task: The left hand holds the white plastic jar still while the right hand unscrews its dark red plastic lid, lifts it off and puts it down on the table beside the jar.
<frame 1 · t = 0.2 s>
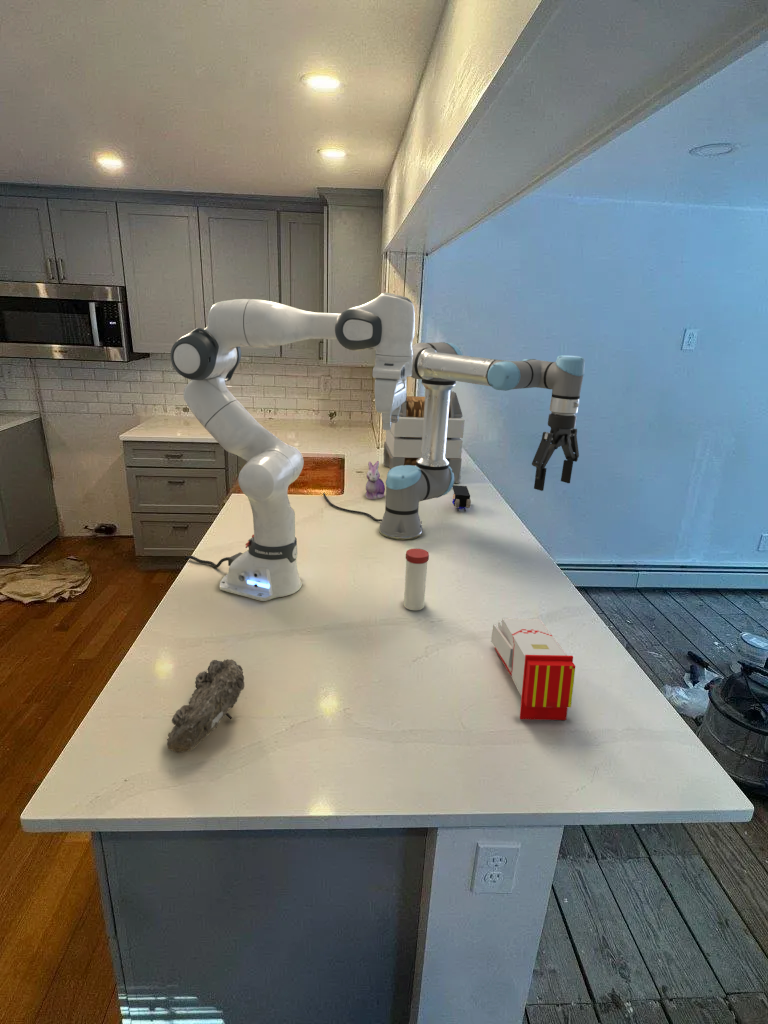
left hand: (390, 426, 137), 48 cm above the counter, tool pointing down, fingers open, 8 cm apart
right hand: (552, 485, 166), 28 cm above the counter, tool pointing down, fingers open, 13 cm apart
lid: (417, 554, 147), point 15 cm above the counter, screwed on, not yet turned
jar: (413, 605, 152), on the counter
figurine character: (460, 507, 229), on the counter
white wooden crate: (419, 473, 275), on the counter
figurine: (374, 496, 238), on the counter
toy: (524, 678, 124), on the counter
fossil: (212, 717, 108), on the counter
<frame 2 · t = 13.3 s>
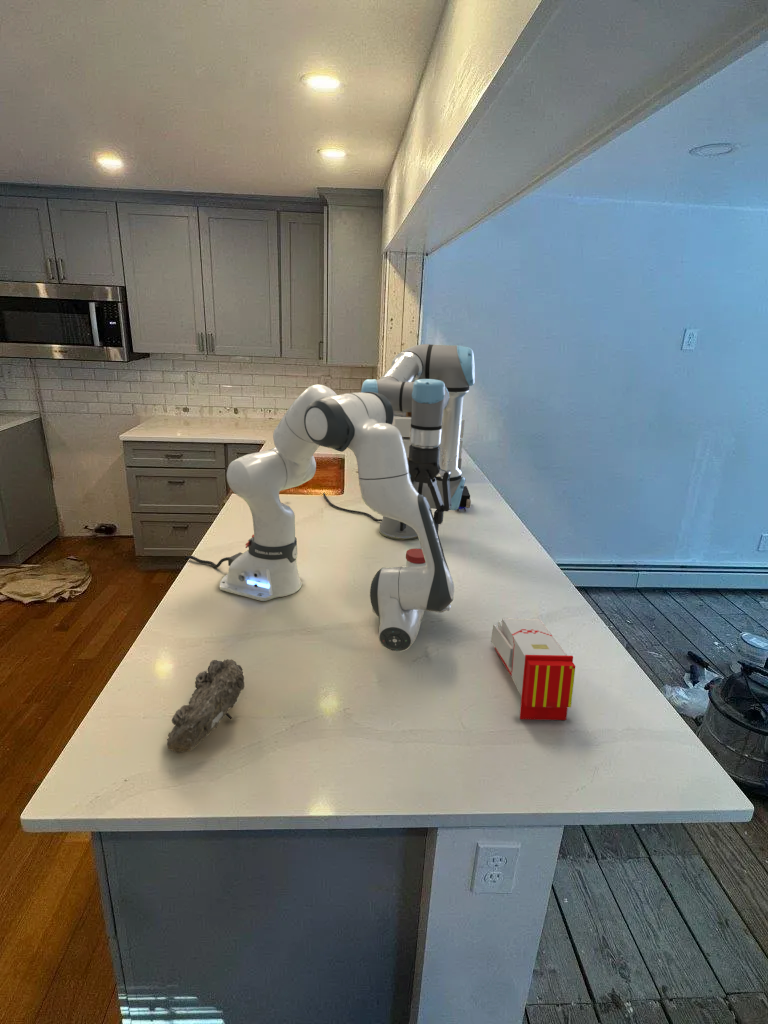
left hand: (415, 581, 151), 7 cm above the counter, tool horizontal, fingers closed on jar, 5 cm apart
right hand: (418, 532, 145), 21 cm above the counter, tool pointing down, fingers open, 8 cm apart
jar: (413, 605, 152), on the counter, touching left hand
everything else where it was.
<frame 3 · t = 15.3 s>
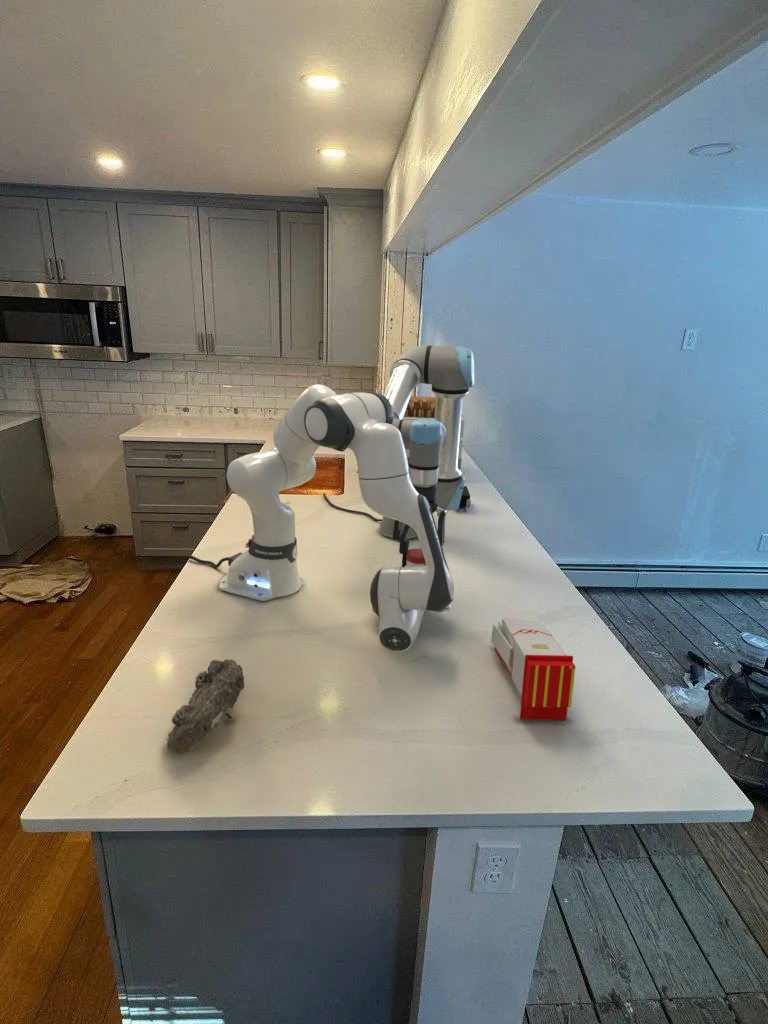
left hand: (415, 581, 151), 7 cm above the counter, tool horizontal, fingers closed on jar, 5 cm apart
right hand: (416, 567, 148), 11 cm above the counter, tool pointing down, fingers closed on lid, 6 cm apart
lid: (417, 554, 147), point 15 cm above the counter, screwed on, not yet turned, touching right hand
jar: (413, 605, 152), on the counter, touching left hand
everything else where it was.
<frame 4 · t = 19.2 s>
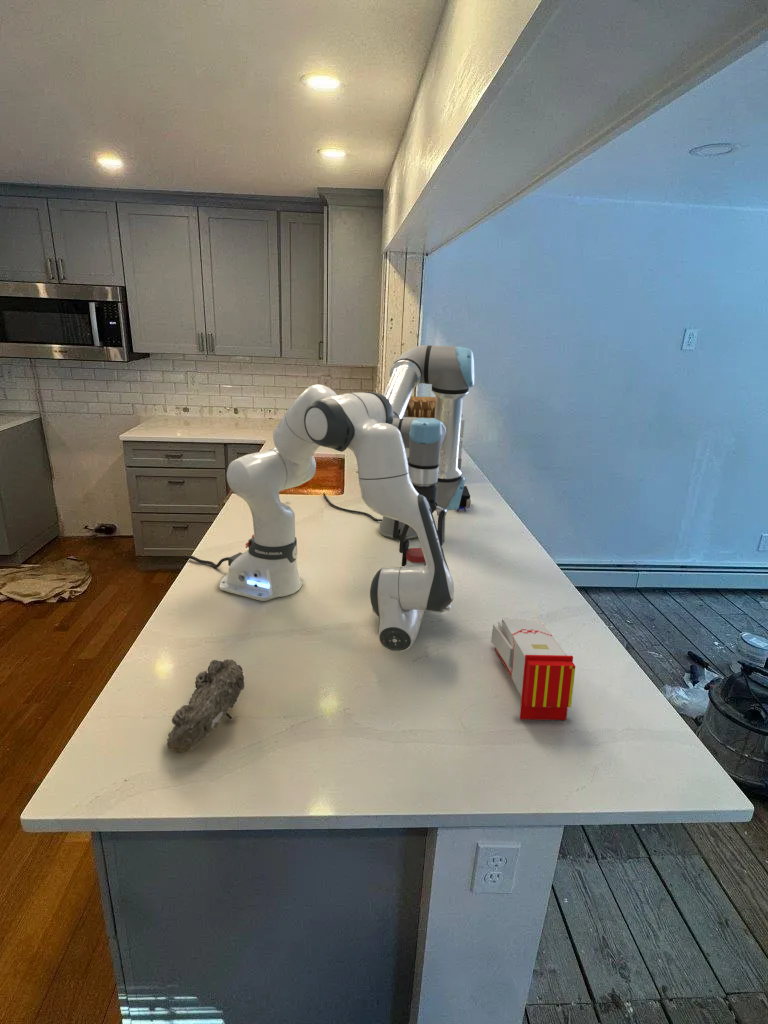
left hand: (415, 581, 151), 7 cm above the counter, tool horizontal, fingers closed on jar, 5 cm apart
right hand: (416, 566, 148), 11 cm above the counter, tool pointing down, fingers closed on lid, 6 cm apart
lid: (417, 553, 147), point 15 cm above the counter, turned 138° so far, risen 0.2 cm, still on its thread, touching right hand
jar: (413, 605, 152), on the counter, touching left hand
everything else where it was.
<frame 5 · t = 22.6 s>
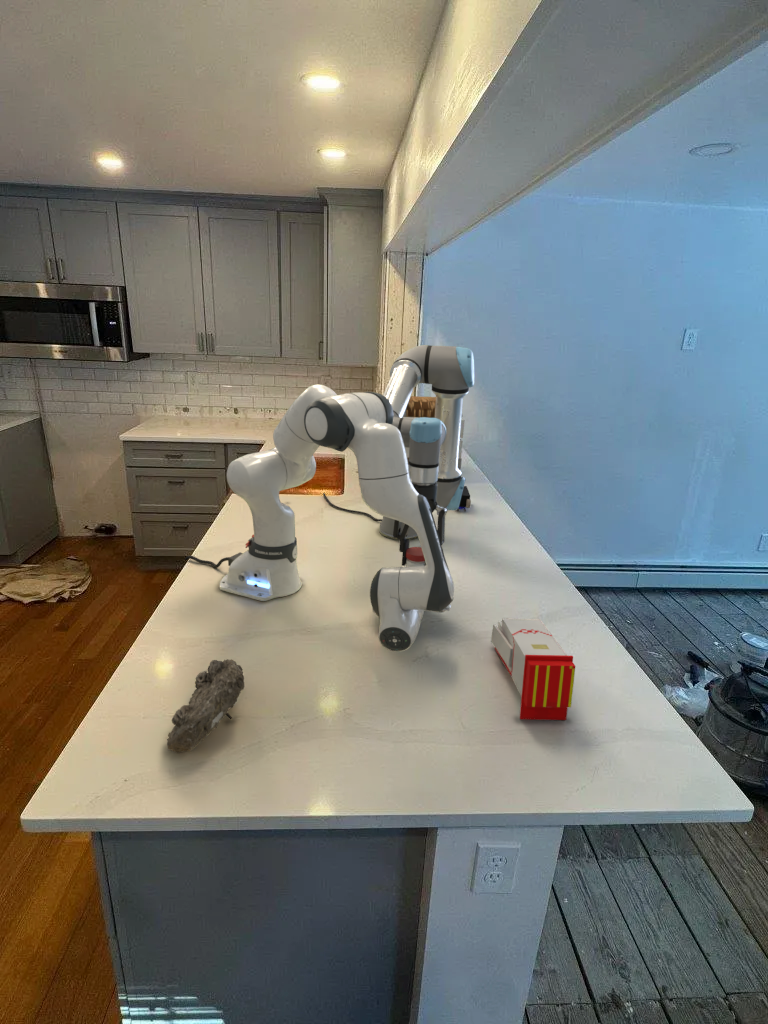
left hand: (415, 581, 151), 7 cm above the counter, tool horizontal, fingers closed on jar, 5 cm apart
right hand: (416, 565, 148), 12 cm above the counter, tool pointing down, fingers closed on lid, 6 cm apart
lid: (417, 552, 147), point 16 cm above the counter, turned 275° so far, risen 0.5 cm, still on its thread, touching right hand
jar: (413, 605, 152), on the counter, touching left hand
everything else where it was.
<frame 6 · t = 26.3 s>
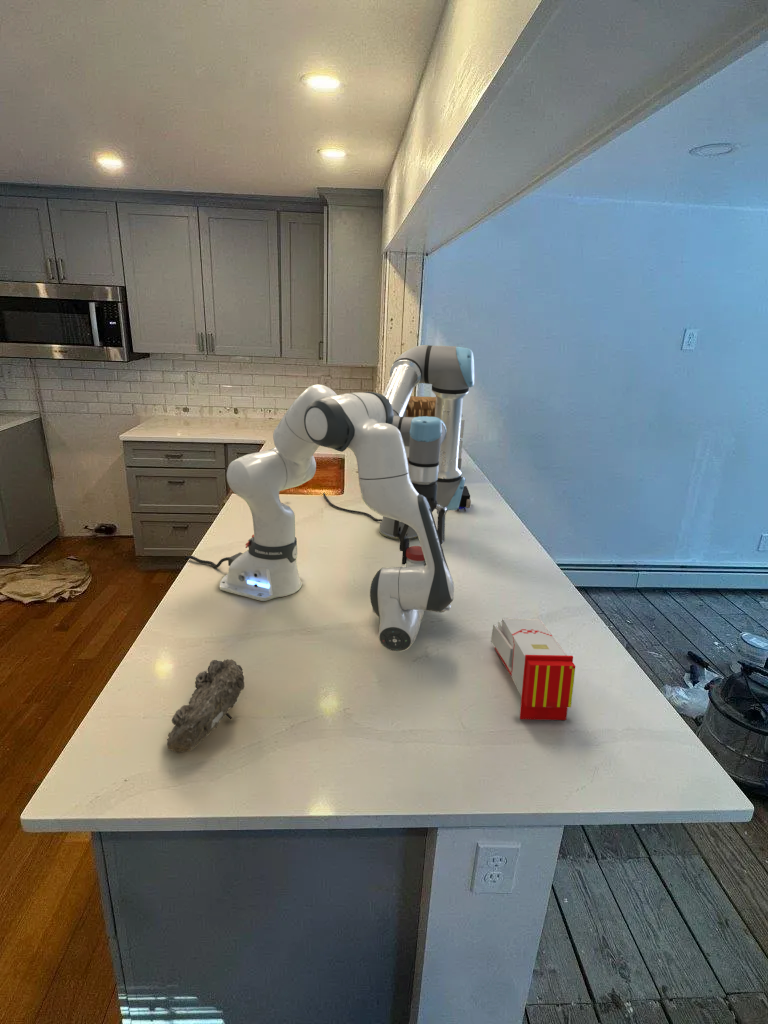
left hand: (415, 581, 151), 7 cm above the counter, tool horizontal, fingers closed on jar, 5 cm apart
right hand: (416, 565, 148), 12 cm above the counter, tool pointing down, fingers closed on lid, 6 cm apart
lid: (417, 551, 147), point 16 cm above the counter, turned 413° so far, risen 0.7 cm, still on its thread, touching right hand
jar: (413, 605, 152), on the counter, touching left hand
everything else where it was.
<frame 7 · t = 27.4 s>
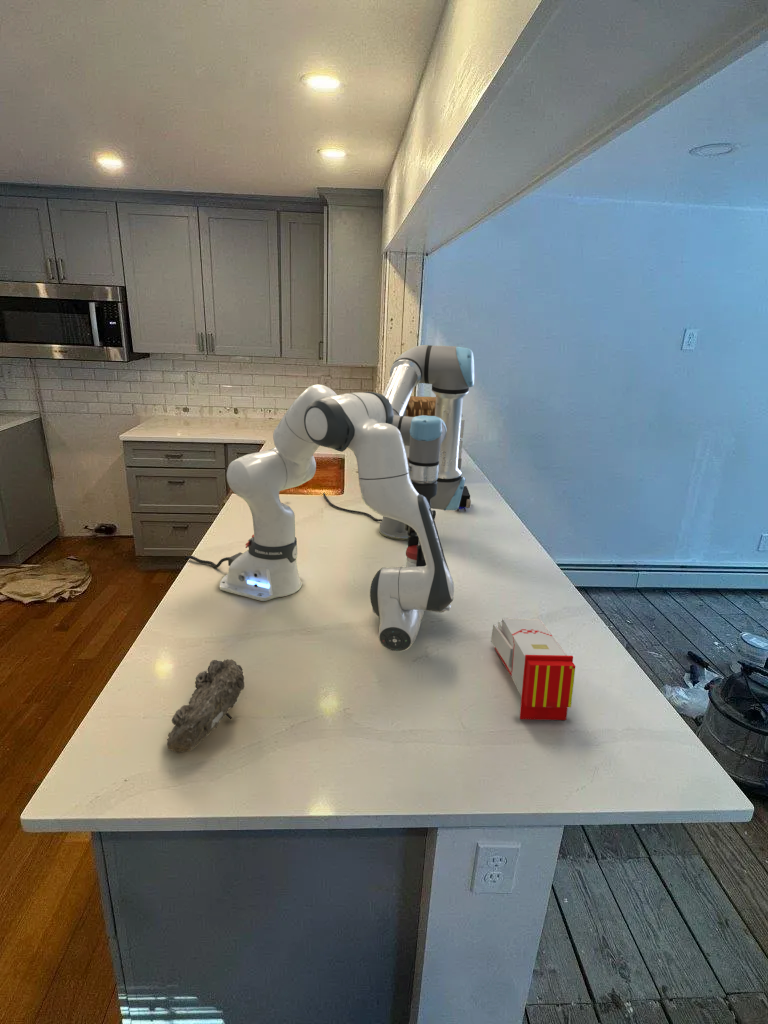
left hand: (415, 581, 151), 7 cm above the counter, tool horizontal, fingers closed on jar, 5 cm apart
right hand: (416, 564, 148), 12 cm above the counter, tool pointing down, fingers closed on lid, 6 cm apart
lid: (417, 550, 147), point 16 cm above the counter, off its thread, touching right hand
jar: (413, 605, 152), on the counter, touching left hand
everything else where it was.
when the right hand's fingers open (0 cm above the counter, at t = 34.2 s): lid drops 3 cm, point 1 cm above the counter.
when the left hand's fingers open (7 cm above the counter, at t = 35.4 s): jar stays where it is, on the counter.
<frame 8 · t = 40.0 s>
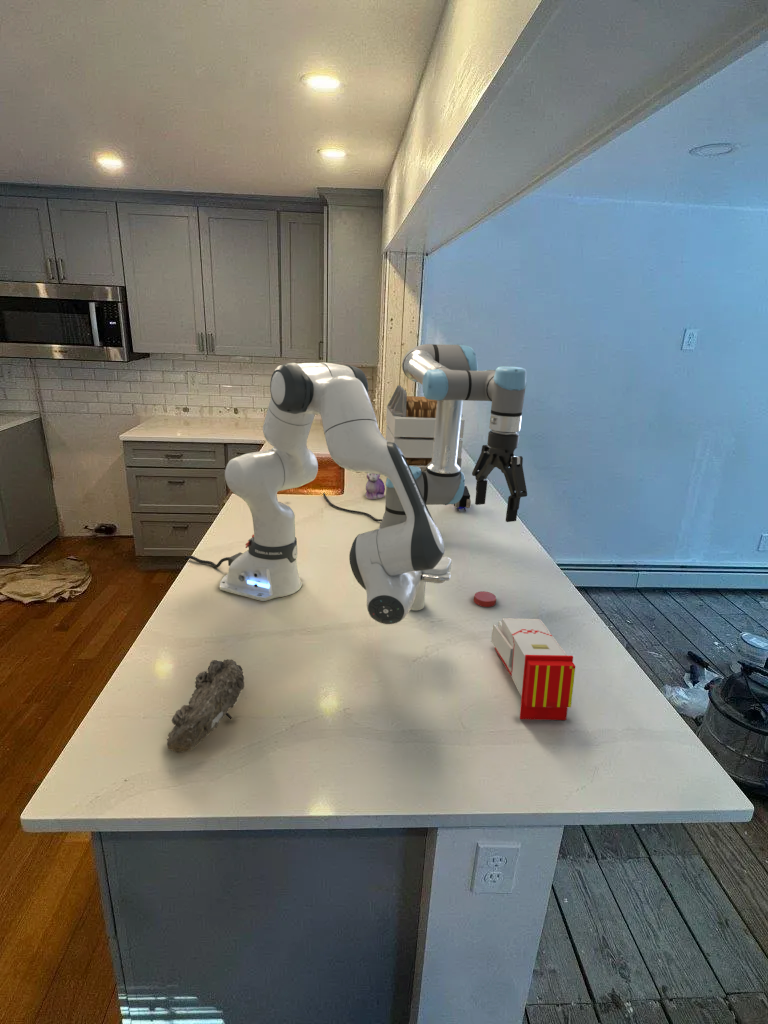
left hand: (411, 550, 135), 21 cm above the counter, tool horizontal, fingers open, 8 cm apart
right hand: (494, 512, 147), 26 cm above the counter, tool pointing down, fingers open, 13 cm apart
lid: (485, 597, 155), point 1 cm above the counter, off its thread
jar: (413, 605, 152), on the counter
everything else where it was.
at the end: lid came off its thread; lid point 1.3 cm above the counter; the left hand is holding nothing; the right hand is holding nothing; jar tilted 0°; jar moved 0.1 cm from its start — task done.
